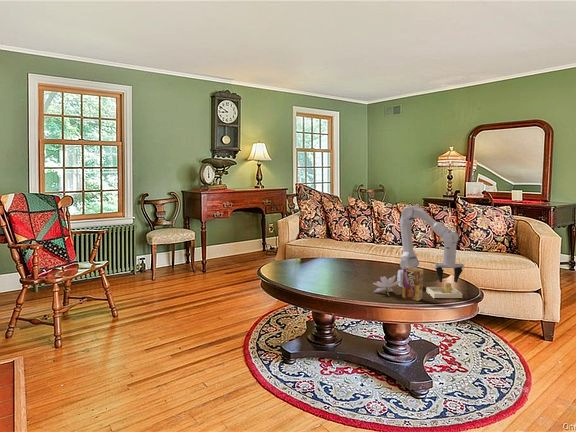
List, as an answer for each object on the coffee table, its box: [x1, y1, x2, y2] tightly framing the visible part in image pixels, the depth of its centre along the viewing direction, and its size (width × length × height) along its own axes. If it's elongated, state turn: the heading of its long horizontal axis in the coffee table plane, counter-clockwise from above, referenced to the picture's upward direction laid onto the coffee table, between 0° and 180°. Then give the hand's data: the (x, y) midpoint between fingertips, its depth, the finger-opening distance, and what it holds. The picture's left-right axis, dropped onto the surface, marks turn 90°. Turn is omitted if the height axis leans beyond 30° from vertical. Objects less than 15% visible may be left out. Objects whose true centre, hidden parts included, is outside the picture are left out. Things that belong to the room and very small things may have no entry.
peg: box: [443, 282, 452, 293], centre depth 216 cm, size 3×3×6 cm
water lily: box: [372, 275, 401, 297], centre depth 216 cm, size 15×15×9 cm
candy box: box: [401, 267, 424, 302], centre depth 209 cm, size 9×4×15 cm, turn 47°
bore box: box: [425, 286, 463, 299], centre depth 216 cm, size 14×12×2 cm
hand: (448, 281), depth 216 cm, fingers open, 7 cm apart
